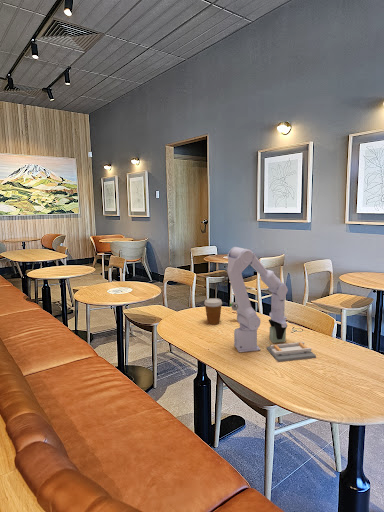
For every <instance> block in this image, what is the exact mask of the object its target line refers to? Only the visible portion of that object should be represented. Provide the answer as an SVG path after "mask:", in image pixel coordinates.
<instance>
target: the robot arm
mask: <svg viewBox="0 0 384 512" xmlns="http://www.w3.org/2000/svg"><path fill="white" fill-rule="evenodd" d="M226 256H227V259H228V260H227V267H226V268H227V269H226V273H227V275H228V276H227V277H228V279H229V282H230V285H231V288H232V293H233V295H234V298H235V302H237V305H238V309H237V311H235V312H236V321H237V323H239V327H237V328H235V329H234V332H233V335H234V336H233V338H234V340H233V342H234V343H233V346H234V348H236V351H238V353H243V352H244V353H245V352H255V351H261V348H260V346H259V345H258V329H259V328H260V325H261V318H260V317H259V316H258V314H257V312H256V311H255V309H254V308H253V307H252V304H251V300H250V298H249V295H248V291H247V288H246V284H245V281H244V277H243V275H242V273H243V272H244V270H245V269H246V268H247V267H249V265H250V266H251V268H253V269H254V270H255V271H256V273H258V274H259V275H260V280H261V281H262V282H263V284H265V285H266V287H268V292H271V294H270V295H271V299H270V300H271V301H270V303H271V304H270V305H271V307H270V308H271V310H270V312H269V317H270V319H268V323H269V324H270V325H269V326H270V327H273V326H274V327H275V329H276V336H277V339H278V340H279V339H282V338H283V334H284V331H285V329H286V330H287V328H288V322H287V321H286V320H287V319H288V317H287V316H285V310H286V309H285V305H286V304H285V301H286V300H285V299H286V297H287V296H286V295H287V293H288V291H289V289H288V287H287V285H286V283H284V282H282V281H281V278H280V277H277V275H275V271H274V270H271V269H266V267H265V266H264V265H263V264H262V262H261V261H260V260H259V258H258V257H257V255H256V253H255V252H253V251H252V250H251V249H249V248H242V247H240V246H239V247H238V246H232V248H231V249H230V250H229V251H228V254H227V255H226ZM237 305H236V306H237Z"/></svg>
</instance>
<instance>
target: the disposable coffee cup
mask: <svg viewBox="0 0 384 512" xmlns="http://www.w3.org/2000/svg"><path fill="white" fill-rule="evenodd" d="M203 304H204V307H205V312H206V313H205V314H206V321H207V324H209V325H211V326H212V325H213V326H215V325H218V324H221V323H220V322H221V312H222V311H221V310H222V305H223V302H222V299H220V298H214V297H213V298H211V297H210V298H207V299H205V300H204V303H203Z"/></svg>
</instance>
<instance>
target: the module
mask: <svg viewBox="0 0 384 512" xmlns="http://www.w3.org/2000/svg"><path fill="white" fill-rule="evenodd" d="M286 331H287V328H286V329H285V331H284V334H283V338H282V339H279V340H278V339H277V336H276V329H275V327H274V326H273V327H271V326H269V341H270V342H271V343H273V344H275V343H276V344H277V343H286V341H287V340H286V337H287V333H286Z"/></svg>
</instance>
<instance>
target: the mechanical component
mask: <svg viewBox="0 0 384 512" xmlns="http://www.w3.org/2000/svg"><path fill="white" fill-rule="evenodd" d="M229 307H231V309H232V311H234V312H236V311H237V309H238V305H237V302H236V301H235V302H233V301H232V302H230V303H229Z"/></svg>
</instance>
